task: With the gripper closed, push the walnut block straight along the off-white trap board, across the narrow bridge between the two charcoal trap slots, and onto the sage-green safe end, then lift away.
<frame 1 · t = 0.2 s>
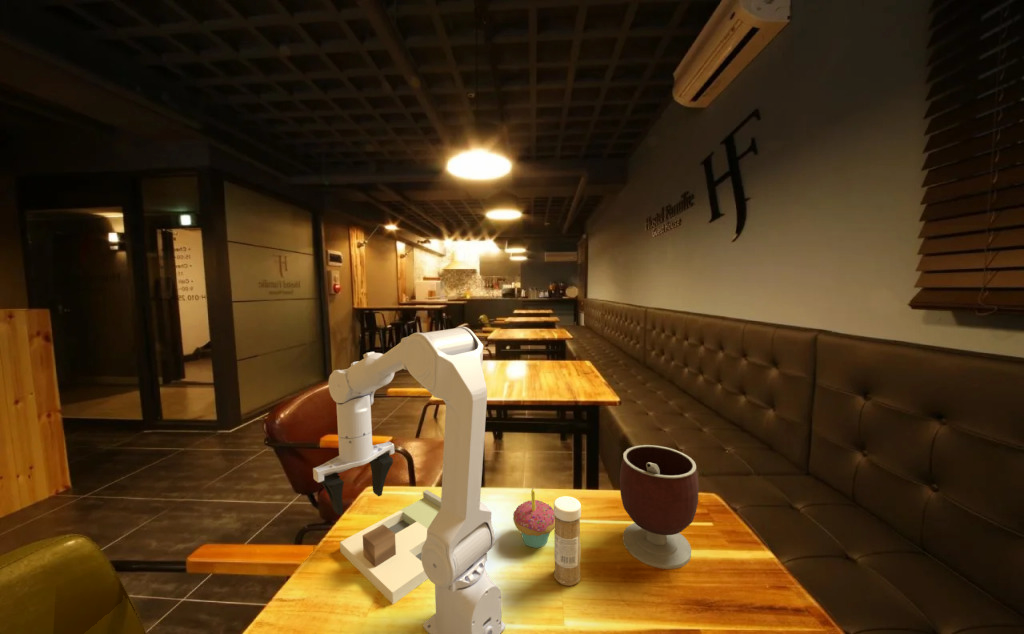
hand: (358, 502, 70), 10 cm above the table, fingers open, 7 cm apart
walnut block: (379, 555, 67), point 2 cm above the table, touching trap board
sprinkles bottle: (566, 577, 65), on the table
cupcake: (534, 540, 74), on the table
trap board: (413, 545, 73), on the table
mate gourd: (655, 548, 72), on the table
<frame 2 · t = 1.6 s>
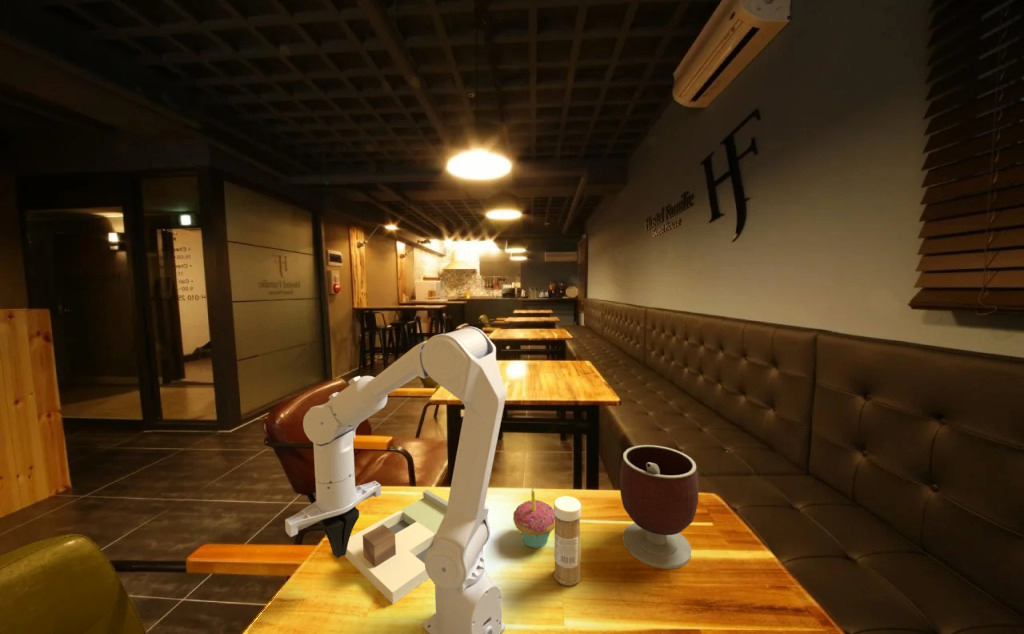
hand: (339, 553, 62), 6 cm above the table, fingers closed
nothing on the table moved.
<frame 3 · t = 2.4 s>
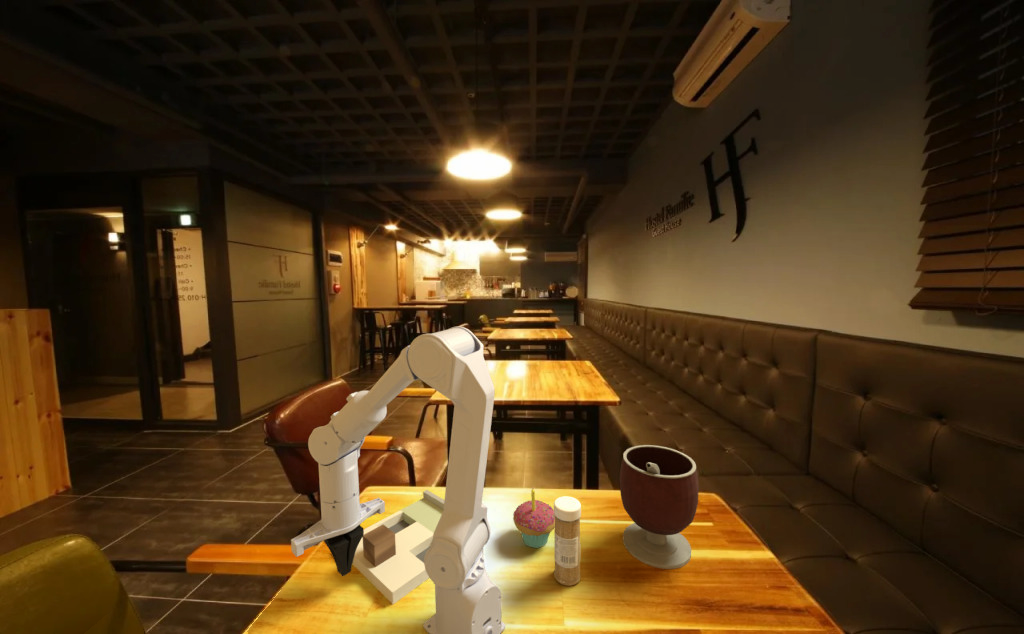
hand: (344, 571, 62), 3 cm above the table, fingers closed
nothing on the table moved.
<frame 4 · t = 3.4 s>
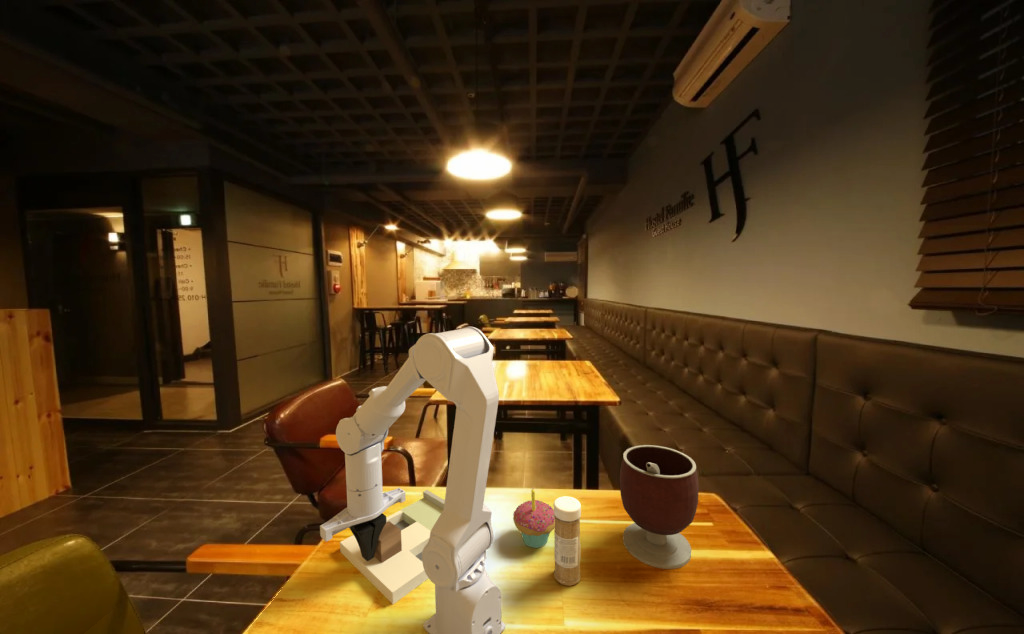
hand: (368, 556, 66), 3 cm above the table, fingers closed
walnut block: (385, 551, 68), point 2 cm above the table, touching gripper
everything else where it was.
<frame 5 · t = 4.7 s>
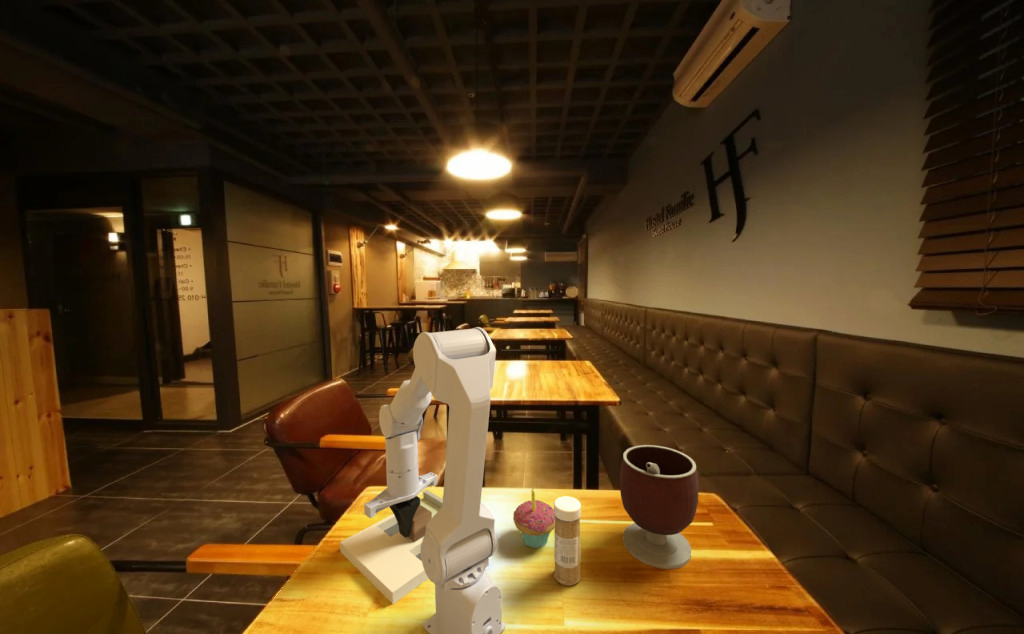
hand: (404, 534, 71), 3 cm above the table, fingers closed
walnut block: (417, 532, 73), point 2 cm above the table, touching gripper, trap board
everything else where it was.
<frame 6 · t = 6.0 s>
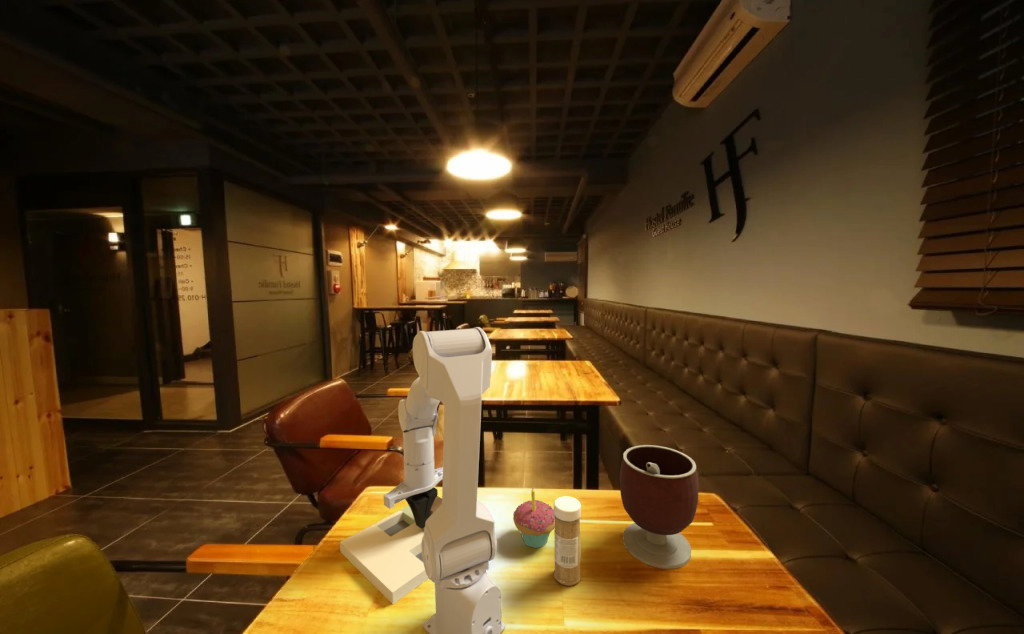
hand: (421, 525, 74), 3 cm above the table, fingers closed
walnut block: (435, 521, 77), point 2 cm above the table, touching gripper, trap board
everything else where it was.
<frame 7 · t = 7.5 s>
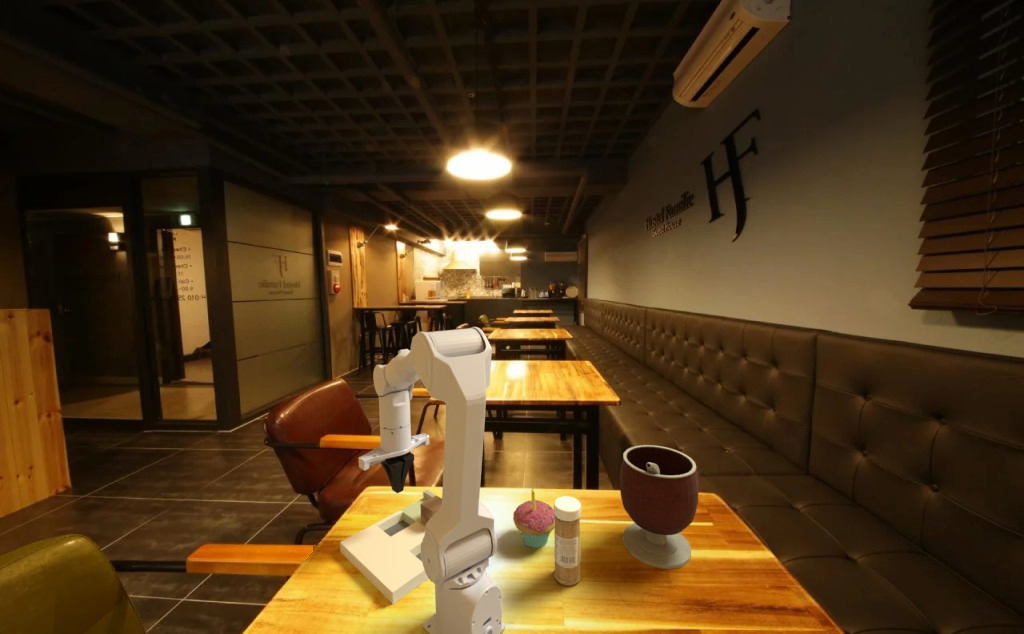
hand: (397, 490, 75), 10 cm above the table, fingers closed
walnut block: (435, 521, 77), point 2 cm above the table, touching trap board
everything else where it was.
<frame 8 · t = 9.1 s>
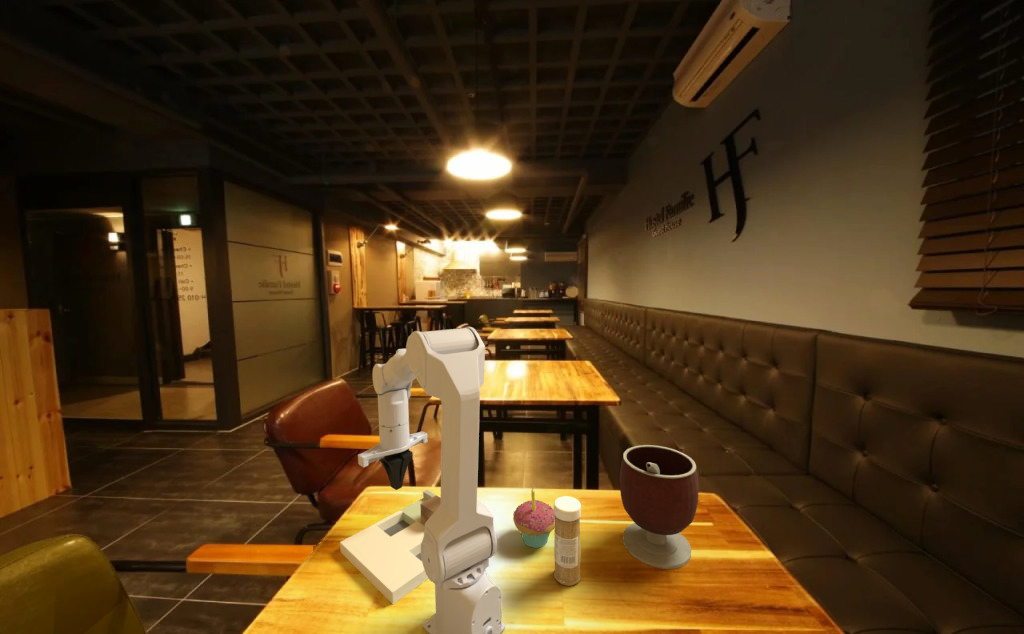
hand: (396, 487, 76), 9 cm above the table, fingers closed
nothing on the table moved.
at the end: walnut block 0.6 cm from the target spot on the trap board, point 2.0 cm above the trap board's base; walnut block tilted 0° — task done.
